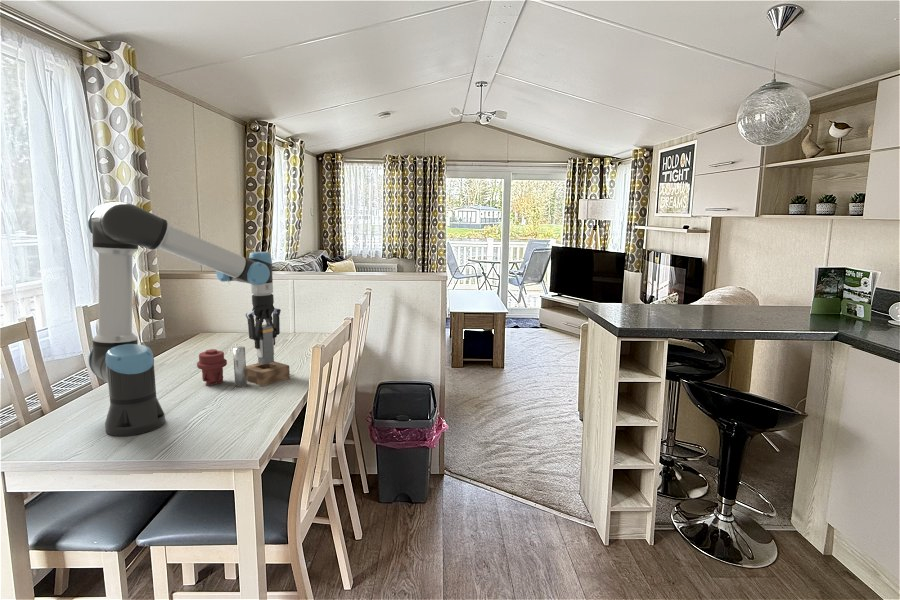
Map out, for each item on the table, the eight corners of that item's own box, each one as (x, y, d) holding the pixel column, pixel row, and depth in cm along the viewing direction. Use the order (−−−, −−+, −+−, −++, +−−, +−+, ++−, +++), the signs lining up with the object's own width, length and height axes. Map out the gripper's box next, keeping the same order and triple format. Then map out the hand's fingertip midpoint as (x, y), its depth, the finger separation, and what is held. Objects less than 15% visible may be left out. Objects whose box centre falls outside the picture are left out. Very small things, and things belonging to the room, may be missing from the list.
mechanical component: (233, 379, 199) (216, 388, 190) (209, 378, 201) (192, 386, 192) (231, 348, 197) (214, 354, 188) (207, 346, 199) (189, 353, 190)
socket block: (262, 386, 193) (261, 372, 192) (243, 379, 200) (242, 366, 199) (289, 378, 202) (289, 365, 201) (270, 372, 209) (270, 360, 208)
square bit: (264, 364, 197) (262, 327, 195) (257, 362, 200) (255, 326, 197) (274, 362, 200) (272, 325, 198) (267, 360, 203) (265, 324, 201)
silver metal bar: (239, 387, 191) (237, 349, 189) (232, 385, 193) (230, 347, 191) (249, 384, 194) (247, 347, 192) (242, 382, 196) (240, 345, 194)
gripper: (247, 297, 187) (251, 362, 191) (288, 292, 200) (291, 352, 204) (235, 295, 191) (239, 358, 195) (276, 290, 205) (279, 349, 208)
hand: (265, 355), depth 200 cm, fingers closed on square bit, 4 cm apart
